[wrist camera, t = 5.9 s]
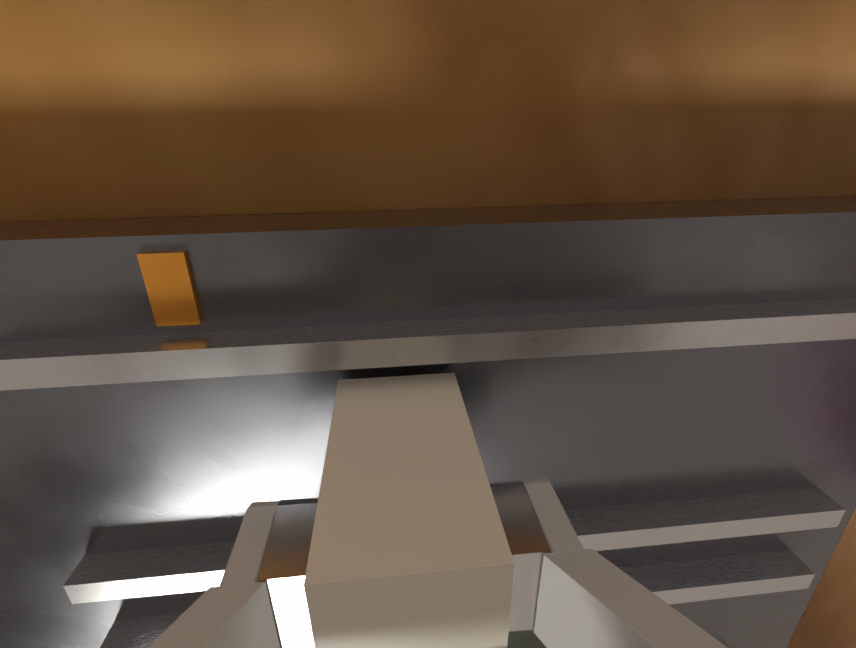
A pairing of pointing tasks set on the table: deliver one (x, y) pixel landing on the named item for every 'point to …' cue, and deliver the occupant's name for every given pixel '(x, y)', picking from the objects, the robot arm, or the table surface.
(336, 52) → the table surface
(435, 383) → the fader knob
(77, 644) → the console
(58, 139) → the table surface
